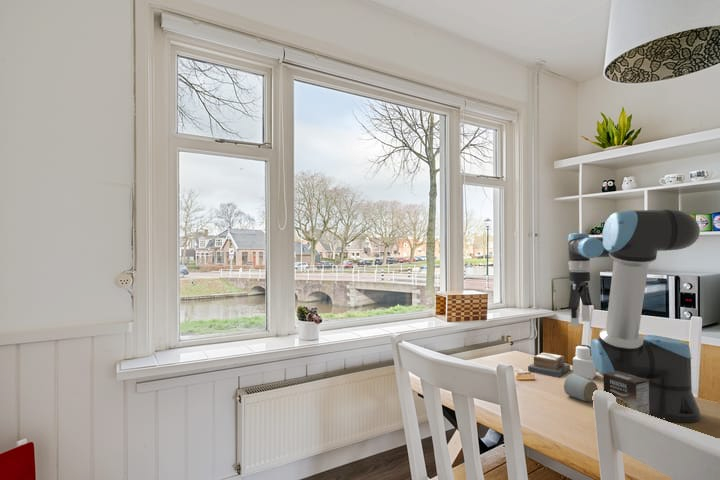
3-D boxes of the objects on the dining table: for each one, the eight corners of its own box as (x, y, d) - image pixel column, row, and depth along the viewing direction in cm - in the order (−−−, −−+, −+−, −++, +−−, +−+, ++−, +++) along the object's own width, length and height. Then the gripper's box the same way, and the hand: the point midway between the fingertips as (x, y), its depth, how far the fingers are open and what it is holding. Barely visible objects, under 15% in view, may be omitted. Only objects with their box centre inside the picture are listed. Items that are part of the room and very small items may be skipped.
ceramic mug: (586, 405, 133) (585, 381, 133) (563, 397, 140) (563, 374, 140) (605, 399, 137) (605, 376, 138) (582, 392, 145) (582, 370, 145)
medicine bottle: (576, 371, 167) (575, 342, 167) (596, 375, 163) (595, 345, 163) (572, 376, 162) (571, 346, 162) (592, 379, 157) (592, 348, 157)
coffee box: (603, 429, 115) (601, 373, 115) (617, 425, 117) (616, 369, 118) (636, 443, 106) (635, 382, 107) (651, 438, 109) (649, 378, 109)
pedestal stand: (558, 377, 161) (557, 362, 161) (528, 371, 169) (527, 356, 169) (570, 369, 171) (569, 355, 171) (541, 363, 179) (540, 350, 179)
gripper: (579, 269, 175) (580, 318, 174) (558, 272, 157) (559, 327, 157) (598, 269, 169) (600, 320, 169) (579, 273, 152) (580, 329, 152)
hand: (580, 323), depth 163 cm, fingers open, 13 cm apart
